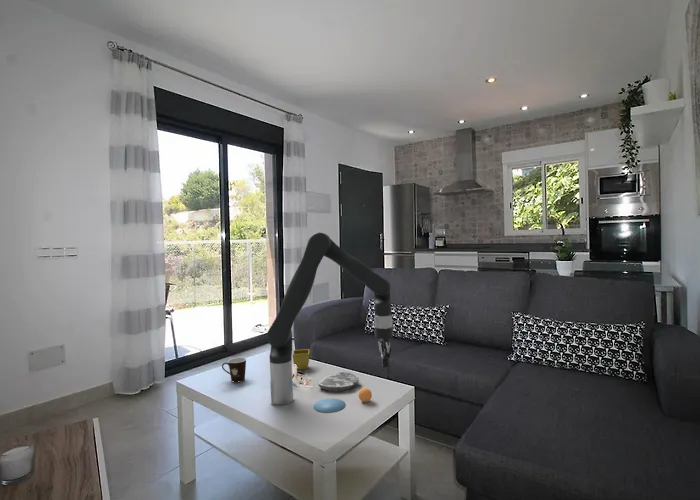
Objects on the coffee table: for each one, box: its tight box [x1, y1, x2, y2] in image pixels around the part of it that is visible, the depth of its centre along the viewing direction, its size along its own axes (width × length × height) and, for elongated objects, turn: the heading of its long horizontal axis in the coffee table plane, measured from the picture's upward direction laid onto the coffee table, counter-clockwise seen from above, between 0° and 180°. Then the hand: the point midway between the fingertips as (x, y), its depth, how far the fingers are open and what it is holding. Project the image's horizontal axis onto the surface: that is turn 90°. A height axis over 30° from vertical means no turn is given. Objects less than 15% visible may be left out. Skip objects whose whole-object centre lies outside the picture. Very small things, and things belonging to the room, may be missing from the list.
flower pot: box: [292, 348, 310, 371], centre depth 203 cm, size 9×9×9 cm
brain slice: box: [318, 371, 360, 393], centre depth 177 cm, size 20×17×3 cm
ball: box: [358, 387, 373, 403], centre depth 158 cm, size 6×6×6 cm
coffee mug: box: [221, 357, 247, 383], centre depth 190 cm, size 12×9×10 cm
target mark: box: [313, 397, 346, 414], centre depth 155 cm, size 13×13×1 cm
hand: (385, 366), depth 159 cm, fingers closed
